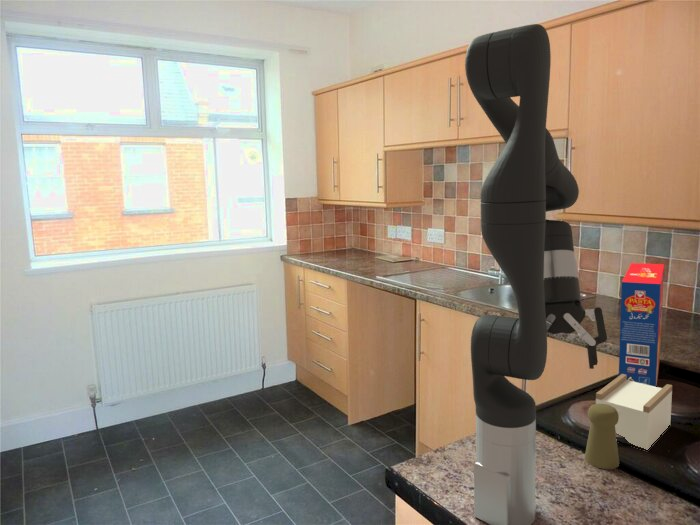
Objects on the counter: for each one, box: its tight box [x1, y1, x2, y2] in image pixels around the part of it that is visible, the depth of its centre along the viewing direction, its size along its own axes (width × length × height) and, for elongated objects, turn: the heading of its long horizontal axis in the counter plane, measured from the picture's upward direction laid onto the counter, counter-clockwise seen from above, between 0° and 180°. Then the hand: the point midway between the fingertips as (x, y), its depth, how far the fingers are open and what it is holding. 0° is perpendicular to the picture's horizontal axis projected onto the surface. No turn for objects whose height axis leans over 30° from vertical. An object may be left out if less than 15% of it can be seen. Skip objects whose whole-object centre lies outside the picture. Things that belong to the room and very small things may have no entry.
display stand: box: [595, 374, 673, 451], centre depth 107 cm, size 14×10×9 cm
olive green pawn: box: [584, 403, 620, 470], centre depth 97 cm, size 6×6×11 cm
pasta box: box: [618, 262, 665, 387], centre depth 134 cm, size 28×8×28 cm, turn 147°
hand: (565, 369), depth 89 cm, fingers open, 8 cm apart
